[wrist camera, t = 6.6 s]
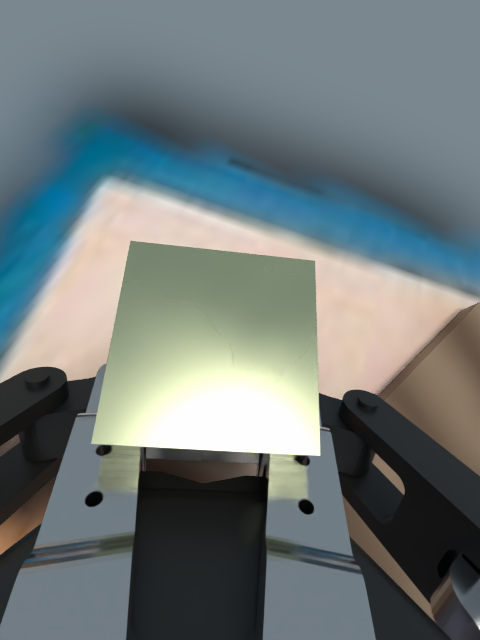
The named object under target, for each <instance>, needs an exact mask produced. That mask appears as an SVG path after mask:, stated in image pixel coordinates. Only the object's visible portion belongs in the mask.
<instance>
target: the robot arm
mask: <svg viewBox="0 0 480 640" xmlns="http://www.w3.org/2000/svg"><path fill="white" fill-rule="evenodd" d="M106 365H107V363H106V364H104V365H103V366H102V367H100V369H99V370H98V372H97V376H96V377H93V378H89V379H82V380H74V381H67V377H66V374H65V372H64V371H62V370H61V369H58V368H54V367H38V368H33V369H29V370H26V371H23V372H21V373H19V374H17V375H15V376H13V377H12V378H10V379H8V380H6V381H4V382H2V383H0V446H1V445H3V444H4V443H5V442H7V441H8V440H10V439H11V438H13V437H14V436H15V435H17V434H18V435H19V439H20V443H19V444H17V445H16V446H15V447H13V448H12V449H11V450H9V451H8V452H6V453H5V454H4V455H2V456H1V457H0V525H1V524H2V523H3V522H4V521H6V520H7V519H8V518H9V517H10V516H11V515H12V514H13V513H14V512H15V511H17V510H18V509H19V508H20V507H21V506H22V505H23V504H24V503H25V502H26V501H28V500H29V499H30V498H31V497H32V496H33V495H34V494H35V493H36V492H38V491H39V490H40V489H41V488H42V487H43V486H44V485H45V484H46V483H47V482H48V481H50V480H51V479H52V478H53V477H54V476H55V475H56V474H57V473H58V475H57V478H56V481H55V484H54V487H53V490H52V494H51V497H50V500H49V503H48V506H47V509H46V512H45V515H44V518H43V521H42V523H41V524H40V525H39V526H37V527H36V528H35V529H33V530H32V531H31V532H29V533H28V534H27V535H26V536H24V537H23V538H22V539H20V540H19V541H18V542H17V543H15V544H14V545H13V546H11V547H10V548H9V549H7V550H6V551H5V552H4V553H2V554H1V555H0V640H480V476H479V475H478V474H476V473H475V472H474V471H473V470H471V469H470V468H469V467H468V466H466V465H465V464H464V463H463V462H461V461H460V460H459V459H457V458H456V457H455V456H454V455H452V454H451V453H450V452H449V451H447V450H446V449H445V448H444V447H442V446H441V445H440V444H439V443H437V442H436V441H435V440H433V439H432V438H431V437H430V436H428V435H427V434H426V433H425V432H423V431H422V430H421V429H420V428H418V427H417V426H416V425H415V424H413V423H412V422H411V421H409V420H408V419H407V418H406V417H404V416H403V415H402V414H401V413H399V412H398V411H397V410H396V409H394V408H393V407H392V406H391V405H389V404H388V403H387V402H385V401H384V400H383V399H382V398H380V397H378V396H377V395H375V394H373V393H370V392H367V391H363V390H350V391H348V392H346V393H345V394H344V396H343V399H342V400H339V399H336V398H332V397H329V396H326V395H323V394H320V393H319V424H320V456H316V455H297V454H277V453H259V454H258V464H257V474H256V476H241V477H236V478H231V479H226V480H221V481H215V482H210V483H199V482H195V481H192V480H188V479H185V478H181V477H178V476H174V475H171V474H167V473H164V472H151V471H146V452H147V447H143V446H123V445H104V444H91V442H92V437H93V431H94V426H95V421H96V416H97V411H98V406H99V401H100V396H101V390H102V385H103V380H104V375H105V370H106ZM375 454H377V455H378V456H379V457H380V458H381V459H382V460H383V461H384V462H385V463H386V464H387V465H388V466H389V467H390V468H391V469H392V470H393V471H394V472H395V473H396V474H397V475H398V476H399V477H400V479H401V480H402V482H403V485H404V489H405V493H404V495H403V494H402V493H401V492H400V491H399V490H398V488H397V487H396V486H395V485H394V484H393V483H392V482H391V481H390V480H389V479H388V478H387V477H386V476H385V475H384V474H383V473H382V472H381V471H380V470H379V469H378V468H377V467H376V466H375V465H374V464H373V463H372V461H373V459H374V457H375ZM342 495H343V497H344V498H345V499H346V500H347V502H348V503H349V504H350V505H351V506H352V508H353V509H354V510H355V511H356V513H357V514H358V515H359V516H360V518H361V519H362V520H363V521H364V523H365V524H366V525H367V526H368V528H369V529H370V530H371V531H372V533H373V534H374V535H375V536H376V538H377V539H378V540H379V541H380V543H381V544H382V545H383V546H384V548H385V549H386V550H387V551H388V552H389V554H390V555H391V556H392V557H393V559H394V560H395V561H396V562H397V564H398V565H399V566H400V567H401V569H402V570H403V571H404V572H405V574H406V575H407V576H408V577H409V579H410V580H411V581H412V582H413V584H414V585H415V586H416V587H417V589H418V590H419V591H420V592H421V593H422V595H423V596H424V597H425V598H426V600H427V601H428V602H429V603H430V605H431V611H432V614H433V618H434V620H435V622H436V623H435V622H434V621H433V620H432V619H431V618H430V617H429V616H428V615H427V614H426V613H425V612H424V611H423V610H422V609H421V608H420V607H419V606H418V605H417V604H416V603H415V601H414V600H413V599H412V598H411V597H410V596H409V595H408V594H407V593H406V592H405V591H404V590H403V589H402V588H401V587H400V586H399V585H398V584H397V583H396V582H395V581H394V580H393V579H392V578H391V577H390V576H389V575H388V574H387V573H386V572H385V571H384V570H383V569H382V568H381V567H380V566H379V565H378V564H377V563H376V562H375V561H374V560H373V559H372V558H371V557H370V556H369V555H368V554H367V553H366V552H365V551H364V550H363V549H362V548H361V547H360V546H359V545H358V544H357V543H356V542H355V541H354V540H353V539H352V538H351V537H350V536H349V533H348V527H347V521H346V515H345V510H344V504H343V498H342Z"/></svg>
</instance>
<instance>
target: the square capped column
mask: <svg viewBox="0 0 480 640" xmlns="http://www.w3.org/2000/svg"><path fill="white" fill-rule="evenodd" d="M91 444H104V445H123V446H143V447H147V452H146V458H151V459H172V460H192V461H213V462H233V463H254V464H258V454H259V453H277V454H297V455H316V456H320V424H319V388H318V353H317V318H316V283H315V261H311V260H302V259H293V258H283V257H274V256H265V255H256V254H247V253H237V252H228V251H219V250H210V249H200V248H191V247H182V246H173V245H164V244H154V243H145V242H136V241H131V242H130V247H129V252H128V257H127V262H126V267H125V272H124V278H123V283H122V288H121V293H120V298H119V303H118V308H117V313H116V319H115V324H114V329H113V334H112V339H111V344H110V349H109V355H108V360H107V365H106V370H105V375H104V380H103V385H102V390H101V396H100V401H99V406H98V411H97V416H96V421H95V426H94V431H93V437H92V442H91Z"/></svg>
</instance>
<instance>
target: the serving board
mask: <svg viewBox="0 0 480 640" xmlns="http://www.w3.org/2000/svg"><path fill="white" fill-rule="evenodd" d="M378 397H380V398H382V399H383V400H384V401H385V402H387V403H388V404H389V405H391V406H392V407H393V408H394V409H396V410H397V411H398V412H399V413H401V414H402V415H403V416H404V417H406V418H407V419H408V420H409V421H411V422H412V423H413V424H415V425H416V426H417V427H418V428H420V429H421V430H422V431H423V432H425V433H426V434H427V435H428V436H430V437H431V438H432V439H433V440H435V441H436V442H437V443H439V444H440V445H441V446H442V447H444V448H445V449H446V450H447V451H449V452H450V453H451V454H452V455H454V456H455V457H456V458H457V459H459V460H460V461H461V462H463V463H464V464H465V465H466V466H468V467H469V468H470V469H471V470H473V471H474V472H475V473H476V474H478V475H479V476H480V303H477V304H475V305H473V306H470V307H468V308H466V309H464V310H462V311H461V312H460V313H459V314H458V315H457V316H456V317H455V318H454V319H453V320H452V321H451V322H450V323H449V324H448V325H447V326H446V327H445V328H444V329H443V330H442V331H441V332H440V333H439V334H438V335H437V336H436V337H435V338H434V339H433V340H432V341H431V342H430V343H429V344H428V345H427V347H426V348H425V349H424V350H423V351H422V352H421V353H420V354H419V355H418V356H417V357H416V358H415V359H414V360H413V361H412V362H411V363H410V364H409V365H408V366H407V367H406V368H405V369H404V370H403V371H402V372H401V373H400V374H399V375H398V376H397V377H396V378H395V379H394V380H393V381H392V382H391V383H390V384H389V385H388V386H387V387H386V388H385V389H384V390H383V391H382V392H381V393H380V394H379V395H378ZM372 463H373V464H374V465H375V466H376V467H377V468H378V469H379V470H380V471H381V472H382V473H383V474H384V475H385V476H386V477H387V478H388V479H389V480H390V481H391V482H392V483H393V484H394V485H395V486H396V487H397V488H398V490H399V491H400V492H401V493H402V494H403V495H404V493H405V489H404V485H403V482H402V480H401V479H400V477H399V476H398V475H397V474H396V473H395V472H394V471H393V470H392V469H391V468H390V467H389V466H388V465H387V464H386V463H385V462H384V461H383V460H382V459H381V458H380V457H379V456H378V455H377V454H375V457H374V459H373V461H372ZM342 498H343V504H344V510H345V515H346V521H347V527H348V533H349V536H350V537H351V538H352V539H353V540H354V541H355V542H356V543H357V544H358V545H359V546H360V547H361V548H362V549H363V550H364V551H365V552H366V553H367V554H368V555H369V556H370V557H371V558H372V559H373V560H374V561H375V562H376V563H377V564H378V565H379V566H380V567H381V568H382V569H383V570H384V571H385V572H386V573H387V574H388V575H389V576H390V577H391V578H392V579H393V580H394V581H395V582H396V583H397V584H398V585H399V586H400V587H401V588H402V589H403V590H404V591H405V592H406V593H407V594H408V595H409V596H410V597H411V598H412V599H413V600H414V601H415V603H416V604H417V605H418V606H419V607H420V608H421V609H422V610H423V611H424V612H425V613H426V614H427V615H428V616H429V617H430V618H431V619H432V620H433V621H434V622H435V620H434V618H433V614H432V611H431V605H430V603H429V602H428V601H427V600H426V598H425V597H424V596H423V595H422V593H421V592H420V591H419V590H418V589H417V587H416V586H415V585H414V584H413V582H412V581H411V580H410V579H409V577H408V576H407V575H406V574H405V572H404V571H403V570H402V569H401V567H400V566H399V565H398V564H397V562H396V561H395V560H394V559H393V557H392V556H391V555H390V554H389V552H388V551H387V550H386V549H385V548H384V546H383V545H382V544H381V543H380V541H379V540H378V539H377V538H376V536H375V535H374V534H373V533H372V531H371V530H370V529H369V528H368V526H367V525H366V524H365V523H364V521H363V520H362V519H361V518H360V516H359V515H358V514H357V513H356V511H355V510H354V509H353V508H352V506H351V505H350V504H349V503H348V502H347V500H346V499H345V498H344V497H343V495H342ZM435 623H436V622H435Z"/></svg>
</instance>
